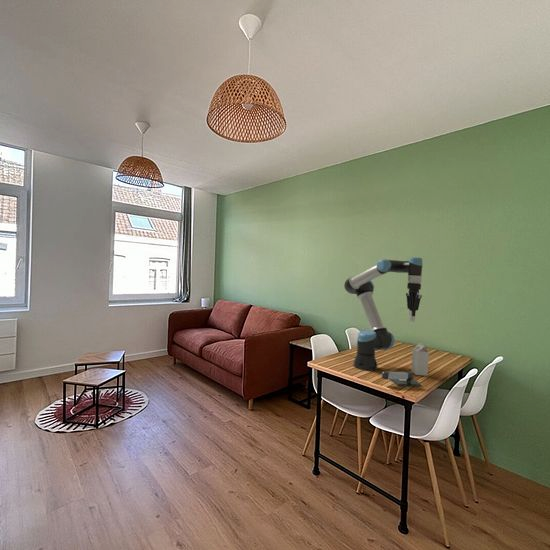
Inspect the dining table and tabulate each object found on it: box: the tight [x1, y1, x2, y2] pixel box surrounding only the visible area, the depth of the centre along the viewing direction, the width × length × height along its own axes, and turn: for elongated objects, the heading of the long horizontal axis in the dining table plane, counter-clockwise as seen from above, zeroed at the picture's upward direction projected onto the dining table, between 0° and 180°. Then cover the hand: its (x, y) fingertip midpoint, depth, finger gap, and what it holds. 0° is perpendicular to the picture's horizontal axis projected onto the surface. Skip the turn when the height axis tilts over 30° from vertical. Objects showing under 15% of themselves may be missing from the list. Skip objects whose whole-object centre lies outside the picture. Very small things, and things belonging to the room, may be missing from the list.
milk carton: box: [410, 342, 430, 377], centre depth 186 cm, size 7×7×19 cm
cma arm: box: [381, 370, 414, 380], centre depth 164 cm, size 18×4×3 cm, turn 96°
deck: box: [388, 378, 422, 387], centre depth 172 cm, size 16×14×4 cm
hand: (411, 321), depth 178 cm, fingers closed
